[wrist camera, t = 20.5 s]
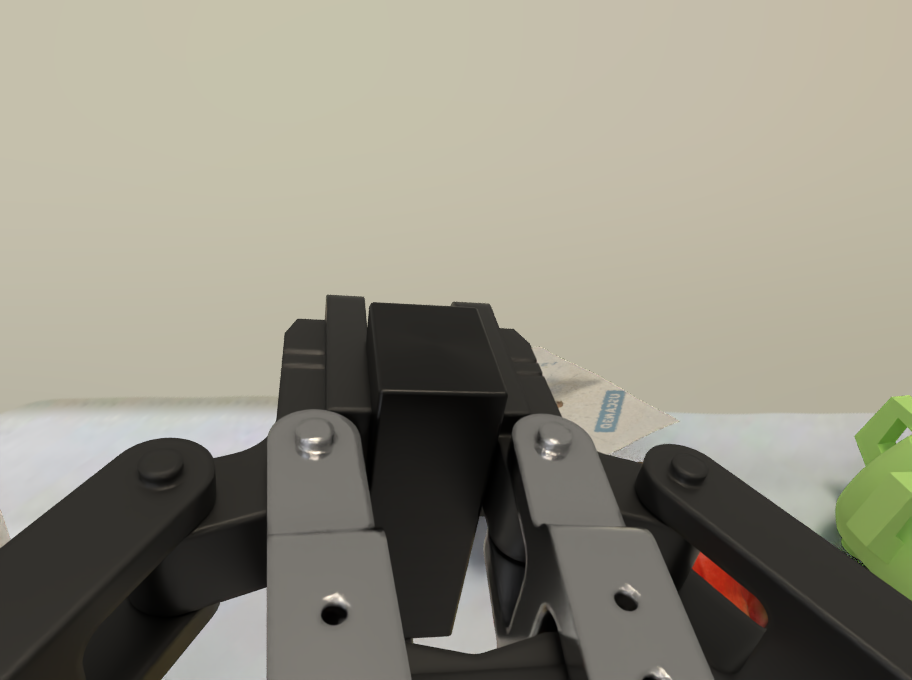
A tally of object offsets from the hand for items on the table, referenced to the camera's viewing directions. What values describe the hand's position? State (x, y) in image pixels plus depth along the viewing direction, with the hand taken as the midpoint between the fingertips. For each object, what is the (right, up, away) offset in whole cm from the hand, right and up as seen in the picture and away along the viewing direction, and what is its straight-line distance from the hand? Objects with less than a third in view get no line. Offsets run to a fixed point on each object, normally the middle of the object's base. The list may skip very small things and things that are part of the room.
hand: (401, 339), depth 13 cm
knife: (-1, -11, +4) cm, 12 cm away
